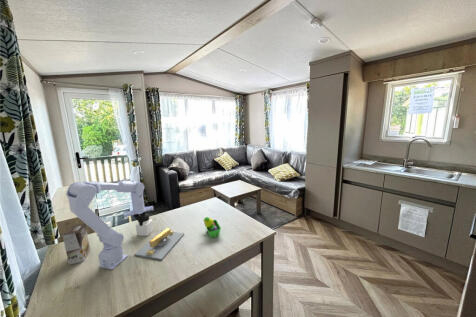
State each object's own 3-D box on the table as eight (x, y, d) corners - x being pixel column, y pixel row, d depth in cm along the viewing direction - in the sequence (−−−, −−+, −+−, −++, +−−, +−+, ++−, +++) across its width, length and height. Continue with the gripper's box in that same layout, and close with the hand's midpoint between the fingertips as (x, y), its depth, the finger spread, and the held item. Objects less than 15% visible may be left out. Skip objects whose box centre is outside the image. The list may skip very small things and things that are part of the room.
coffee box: (84, 261, 94) (78, 232, 91) (68, 265, 92) (61, 235, 89) (91, 249, 103) (85, 223, 99) (76, 253, 101) (70, 225, 97)
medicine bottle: (154, 229, 121) (151, 212, 119) (147, 236, 114) (145, 217, 112) (143, 228, 122) (141, 211, 119) (136, 235, 115) (134, 217, 112)
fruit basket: (221, 236, 112) (220, 219, 110) (206, 240, 109) (205, 222, 107) (216, 226, 123) (215, 210, 120) (202, 229, 120) (201, 213, 117)
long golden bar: (146, 246, 101) (146, 239, 101) (164, 232, 113) (164, 227, 112) (156, 249, 99) (156, 243, 98) (174, 235, 110) (173, 229, 110)
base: (161, 260, 94) (161, 256, 94) (134, 255, 98) (134, 251, 97) (184, 234, 115) (183, 231, 114) (161, 231, 119) (160, 228, 118)
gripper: (123, 209, 97) (127, 232, 100) (153, 201, 105) (156, 223, 108) (122, 204, 103) (125, 226, 105) (150, 197, 111) (153, 218, 114)
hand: (141, 225), depth 107 cm, fingers closed
